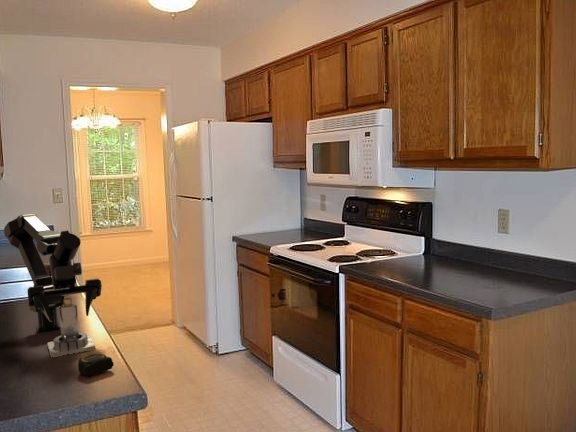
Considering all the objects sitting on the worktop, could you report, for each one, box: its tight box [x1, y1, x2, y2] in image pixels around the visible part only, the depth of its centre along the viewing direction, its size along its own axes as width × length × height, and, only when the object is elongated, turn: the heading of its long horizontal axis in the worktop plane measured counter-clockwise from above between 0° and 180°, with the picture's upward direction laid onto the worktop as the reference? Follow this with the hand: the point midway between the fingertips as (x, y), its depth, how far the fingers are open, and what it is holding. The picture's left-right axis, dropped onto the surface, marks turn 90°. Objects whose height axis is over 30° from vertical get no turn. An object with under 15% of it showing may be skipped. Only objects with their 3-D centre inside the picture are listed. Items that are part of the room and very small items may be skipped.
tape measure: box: [77, 352, 114, 377], centre depth 130 cm, size 7×7×4 cm
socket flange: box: [47, 332, 97, 359], centre depth 148 cm, size 11×11×3 cm
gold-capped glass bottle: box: [58, 297, 80, 341], centre depth 148 cm, size 4×4×12 cm
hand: (69, 318), depth 146 cm, fingers open, 9 cm apart
